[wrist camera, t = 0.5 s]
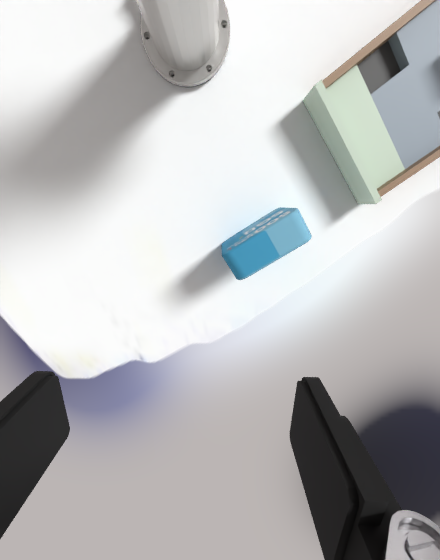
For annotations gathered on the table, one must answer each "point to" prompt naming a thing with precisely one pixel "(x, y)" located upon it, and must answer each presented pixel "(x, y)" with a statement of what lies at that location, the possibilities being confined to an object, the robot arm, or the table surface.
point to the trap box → (384, 105)
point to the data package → (265, 241)
